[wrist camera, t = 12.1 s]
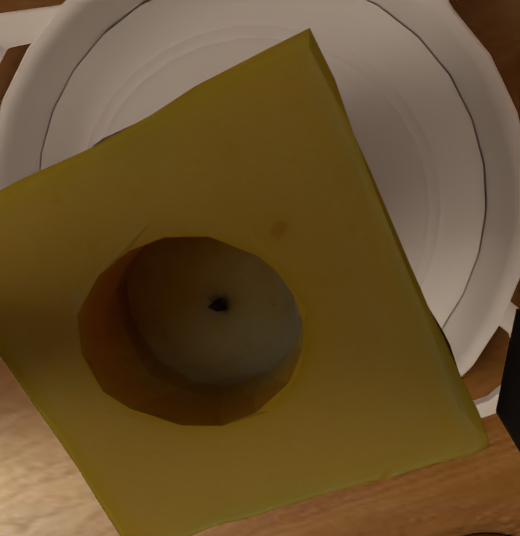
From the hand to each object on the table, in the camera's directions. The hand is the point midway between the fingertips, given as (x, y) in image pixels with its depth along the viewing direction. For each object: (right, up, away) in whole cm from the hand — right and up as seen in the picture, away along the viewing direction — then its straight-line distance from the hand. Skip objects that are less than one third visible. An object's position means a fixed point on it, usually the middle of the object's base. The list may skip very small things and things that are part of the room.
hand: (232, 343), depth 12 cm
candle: (0, +3, +8) cm, 9 cm away
